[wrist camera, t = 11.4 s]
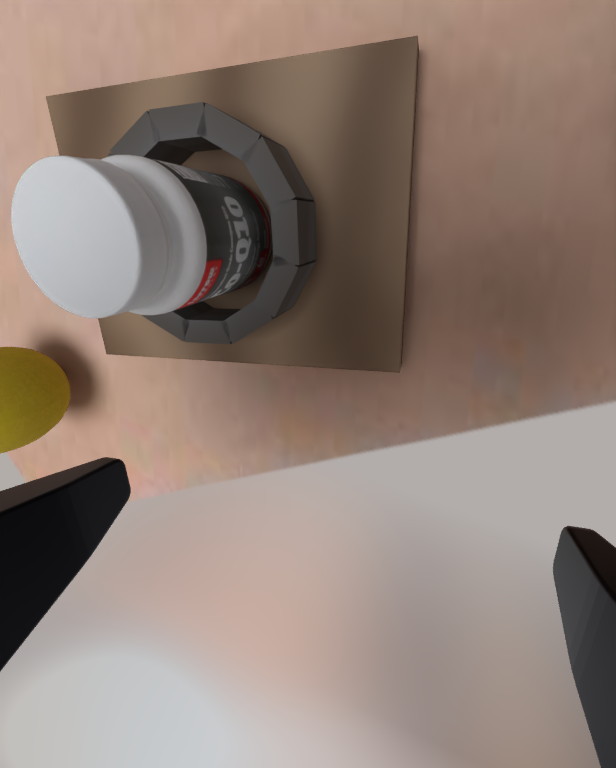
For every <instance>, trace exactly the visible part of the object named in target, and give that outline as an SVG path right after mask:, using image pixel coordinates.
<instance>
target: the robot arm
mask: <svg viewBox="0 0 616 768" xmlns="http://www.w3.org/2000/svg"><path fill="white" fill-rule="evenodd" d="M130 493H131V488H130V484H129V480H128V476H127V472H126V467H125V464H124V463H123V461H122V460H120V459H115V458H108V457H105V458H101V459H97V460H94V461H91V462H88V463H85V464H82V465H79V466H76V467H73V468H70V469H67V470H64V471H61V472H58V473H55V474H52V475H49V476H46V477H43V478H40V479H36V480H33V481H30V482H27V483H24V484H21V485H18V486H15V487H12V488H9V489H6V490H3V491H0V671H1V670H2V669H3V667H4V666H5V665H6V664H7V662H8V661H9V660H10V658H11V657H12V656H13V655H14V653H15V652H16V651H17V650H18V648H19V647H20V646H21V645H22V643H23V642H24V641H25V639H26V638H27V637H28V636H29V634H30V633H31V632H32V630H33V629H34V628H35V627H36V625H37V624H38V623H39V622H40V620H41V619H42V618H43V617H44V615H45V614H46V613H47V612H48V610H49V609H50V608H51V606H52V605H53V604H54V603H55V601H56V600H57V599H58V597H59V596H60V595H61V594H62V592H63V591H64V590H65V589H66V587H67V586H68V585H69V584H70V582H71V581H72V580H73V578H74V577H75V576H76V575H77V573H78V572H79V571H80V570H81V568H82V567H83V566H84V564H85V563H86V562H87V560H88V559H89V557H90V556H91V555H92V553H93V552H94V551H95V549H96V548H97V546H98V545H99V543H100V542H101V540H102V539H103V537H104V535H105V534H106V533H107V531H108V530H109V528H110V527H111V525H112V524H113V522H114V520H115V519H116V517H117V516H118V514H119V513H120V511H121V510H122V508H123V507H124V505H125V504H126V502H127V501H128V499H129V497H130ZM553 575H554V581H555V586H556V591H557V597H558V602H559V607H560V612H561V617H562V623H563V628H564V633H565V639H566V644H567V649H568V654H569V659H570V664H571V669H572V673H573V675H574V680H575V683H576V687H577V690H578V693H579V697H580V700H581V703H582V707H583V710H584V713H585V717H586V720H587V723H588V726H589V730H590V733H591V736H592V740H593V743H594V746H595V750H596V752H597V756H598V759H599V763H600V766H601V768H616V548H615V547H614V546H613V545H611V544H610V543H609V542H608V541H607V540H606V539H604V538H603V537H602V536H600V535H599V534H598V533H597V532H595V531H594V530H591V529H586V528H579V527H573V526H567V527H564V528H563V530H562V532H561V535H560V539H559V543H558V547H557V551H556V555H555V559H554V564H553Z"/></svg>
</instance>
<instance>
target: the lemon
mask: <svg viewBox="0 0 616 768" xmlns="http://www.w3.org/2000/svg"><path fill="white" fill-rule="evenodd" d="M69 401H70V385H69V382H68V379H67V377H66V373H65V372H64V371H63V370H62V369H61V367H60V366H59V365H58V364H57V363H56V362H55V361H54V360H52V359H51V358H49V357H47V356H46V355H44V354H42V353H39V352H37V351H34V350H31V349H27V348H19V347H0V453H4V452H7V451H11V450H14V449H17V448H20V447H22V446H25V445H27V444H29V443H31V442H33V441H35V440H37V439H39V438H40V437H42V436H43V435H44V434H46V433H47V432H48V431H49V430H51V429H52V428H53V427H54V426H55V425H56V424H57V423H58V422H59V421H60V420H61V419H62V417H63V415H64V413H65V412H66V410H67V408H68V405H69Z"/></svg>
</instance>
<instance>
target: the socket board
mask: <svg viewBox="0 0 616 768" xmlns="http://www.w3.org/2000/svg"><path fill="white" fill-rule="evenodd" d="M418 56H419V45H418V36H413V37H407V38H401V39H395V40H389V41H383V42H377V43H371V44H365V45H358V46H352V47H346V48H340V49H334V50H328V51H322V52H316V53H309V54H303V55H297V56H291V57H285V58H279V59H273V60H267V61H260V62H254V63H248V64H242V65H236V66H230V67H224V68H218V69H212V70H205V71H199V72H193V73H187V74H181V75H175V76H169V77H163V78H156V79H150V80H144V81H138V82H132V83H126V84H120V85H114V86H107V87H101V88H95V89H89V90H83V91H77V92H71V93H65V94H59V95H52V96H46V100H47V104H48V108H49V112H50V117H51V121H52V125H53V129H54V133H55V138H56V142H57V146H58V150H59V155H60V156H71V157H77V158H85V159H90V158H91V159H99V160H101V159H103V158H106V157H109V156H113V155H134V156H141V157H146V158H150V159H155V160H159V161H163V162H167V163H172V164H176V165H180V166H184V167H188V168H193V169H197V170H201V171H206V172H210V173H215V174H219V175H224V176H227V177H230V178H233V179H235V180H238V181H239V182H241V183H243V184H244V185H246V186H247V187H248V188H249V189H251V190H252V191H253V192H254V193H255V194H256V195H257V197H258V198H259V199H260V201H261V202H262V204H263V206H264V207H265V209H266V212H267V214H268V217H269V220H270V224H271V229H272V248H271V253H270V256H269V259H268V262H267V264H266V266H265V268H264V270H263V271H262V273H261V274H260V275H259V276H258V277H257V278H256V279H255V280H254V281H253V282H252V283H250V284H249V285H247V286H245V287H243V288H240V289H238V290H235V291H231V292H228V293H225V294H222V295H219V296H216V297H213V298H210V299H207V300H204V301H201V302H198V303H195V304H192V305H189V306H186V307H183V308H181V309H178V310H175V311H172V312H169V313H164V314H158V315H140V314H135V313H131V312H129V311H127V312H124V313H120V314H117V315H113V316H109V317H105V318H98V320H99V324H100V328H101V332H102V337H103V341H104V345H105V349H106V354H113V355H128V356H144V357H160V358H176V359H192V360H208V361H224V362H240V363H256V364H272V365H288V366H304V367H320V368H336V369H352V370H368V371H384V372H399V373H400V369H401V364H402V348H403V329H404V311H405V293H406V275H407V257H408V238H409V220H410V202H411V184H412V165H413V147H414V129H415V111H416V92H417V74H418Z"/></svg>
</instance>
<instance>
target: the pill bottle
mask: <svg viewBox="0 0 616 768" xmlns="http://www.w3.org/2000/svg"><path fill="white" fill-rule="evenodd" d="M11 219H12V230H13V236H14V240H15V243H16V246H17V250H18V252H19V255H20V257H21V260H22V262H23V264H24V266H25V268H26V270H27V271H28V273H29V275H30V276H31V278H32V279H33V280H34V282H35V283H36V285H37V286H38V287H39V288H40V290H41V291H42V292H43V293H44V294H45V295H46V296H47V297H48V298H49V299H51V300H52V301H53V302H54V303H56V304H57V305H58V306H60V307H61V308H63V309H65V310H66V311H68V312H71V313H73V314H75V315H78V316H81V317H86V318H105V317H109V316H113V315H117V314H120V313H124V312H127V311H129V312H131V313H135V314H140V315H158V314H164V313H169V312H172V311H175V310H178V309H181V308H183V307H186V306H189V305H192V304H195V303H198V302H201V301H204V300H207V299H210V298H213V297H216V296H219V295H222V294H225V293H228V292H231V291H235V290H238V289H240V288H243V287H245V286H247V285H249V284H250V283H252V282H253V281H254V280H255V279H256V278H257V277H258V276H259V275H260V274H261V273H262V271H263V270H264V268H265V266H266V264H267V262H268V259H269V256H270V253H271V248H272V229H271V224H270V220H269V217H268V214H267V212H266V209H265V207H264V206H263V204H262V202H261V201H260V199H259V198H258V197H257V195H256V194H255V193H254V192H253V191H252V190H251V189H249V188H248V187H247V186H246V185H244V184H243V183H241V182H239V181H238V180H235V179H233V178H230V177H227V176H224V175H219V174H215V173H210V172H206V171H201V170H197V169H193V168H188V167H184V166H180V165H176V164H172V163H167V162H163V161H159V160H155V159H150V158H146V157H141V156H134V155H113V156H109V157H106V158H103V159H101V160H99V159H91V158H90V159H85V158H77V157H71V156H50V157H46V158H43V159H41V160H39V161H37V162H35V163H34V164H33V165H31V166H30V167H29V168H28V169H27V170H26V171H25V172H24V173H23V175H22V177H21V178H20V180H19V181H18V184H17V186H16V189H15V192H14V195H13V201H12V210H11Z"/></svg>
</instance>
